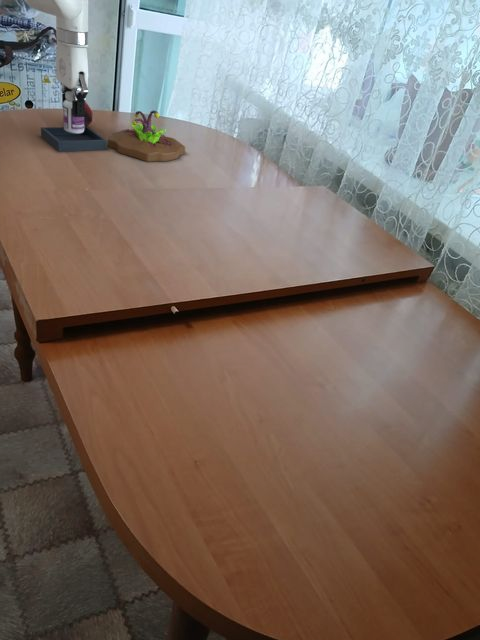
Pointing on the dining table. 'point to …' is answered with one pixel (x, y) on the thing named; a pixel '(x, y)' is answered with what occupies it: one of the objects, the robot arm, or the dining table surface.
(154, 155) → the plant
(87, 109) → the fruit
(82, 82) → the robot arm
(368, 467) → the dining table surface
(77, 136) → the tray
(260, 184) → the dining table surface
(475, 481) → the dining table surface
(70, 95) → the pill bottle
